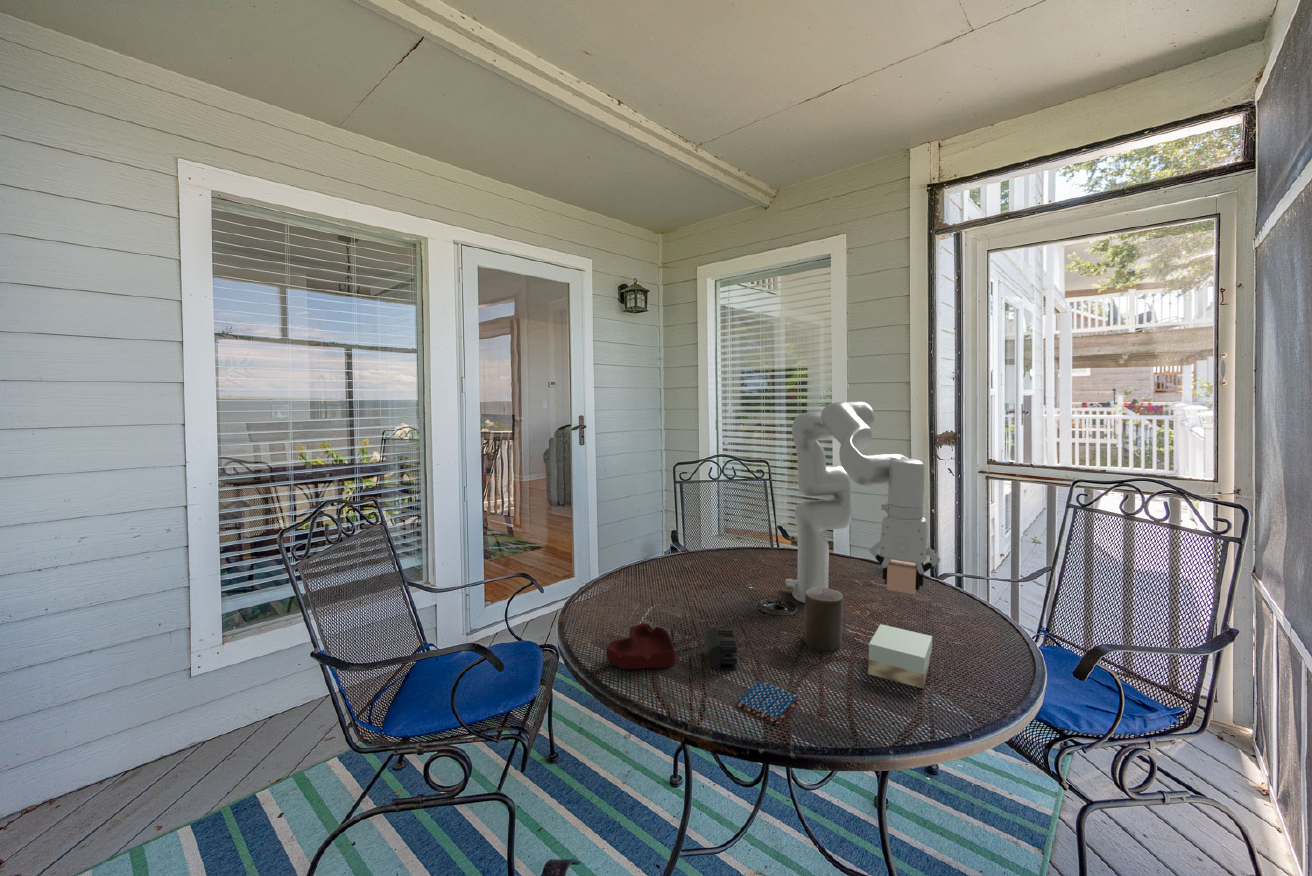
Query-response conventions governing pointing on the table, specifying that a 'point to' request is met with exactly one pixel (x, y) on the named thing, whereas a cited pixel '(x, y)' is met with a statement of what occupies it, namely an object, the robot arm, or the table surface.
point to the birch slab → (897, 673)
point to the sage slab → (901, 648)
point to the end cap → (721, 649)
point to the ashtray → (642, 649)
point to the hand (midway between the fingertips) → (902, 584)
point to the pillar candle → (823, 619)
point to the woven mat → (768, 701)
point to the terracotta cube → (901, 576)
